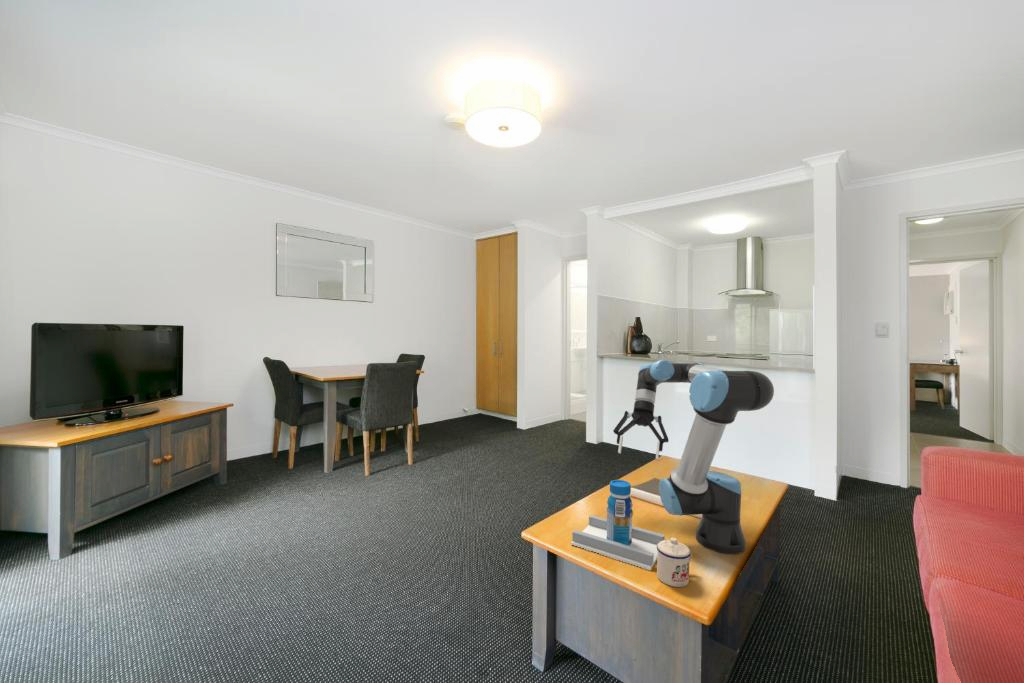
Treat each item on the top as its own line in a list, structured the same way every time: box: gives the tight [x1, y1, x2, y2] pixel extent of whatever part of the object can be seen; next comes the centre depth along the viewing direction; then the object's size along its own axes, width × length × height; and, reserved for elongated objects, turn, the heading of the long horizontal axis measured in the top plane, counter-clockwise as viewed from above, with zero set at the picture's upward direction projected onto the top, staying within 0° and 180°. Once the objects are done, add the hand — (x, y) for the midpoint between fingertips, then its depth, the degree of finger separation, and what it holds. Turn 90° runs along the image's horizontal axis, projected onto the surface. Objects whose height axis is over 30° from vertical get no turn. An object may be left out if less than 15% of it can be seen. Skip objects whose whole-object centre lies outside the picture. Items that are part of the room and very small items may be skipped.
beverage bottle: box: [606, 479, 634, 546], centre depth 139 cm, size 8×8×20 cm
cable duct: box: [570, 514, 666, 572], centre depth 139 cm, size 26×18×4 cm
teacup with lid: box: [656, 537, 692, 588], centre depth 121 cm, size 12×9×12 cm
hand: (637, 456), depth 157 cm, fingers open, 13 cm apart
